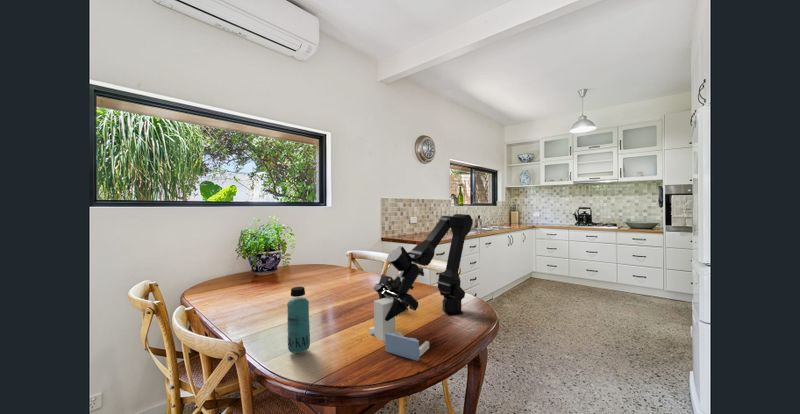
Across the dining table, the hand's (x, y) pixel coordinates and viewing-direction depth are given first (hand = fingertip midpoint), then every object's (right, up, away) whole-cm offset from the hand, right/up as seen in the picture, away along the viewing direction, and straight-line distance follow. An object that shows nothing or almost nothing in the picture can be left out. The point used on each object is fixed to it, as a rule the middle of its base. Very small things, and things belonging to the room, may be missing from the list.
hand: (381, 318), depth 107 cm
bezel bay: (+9, -7, -8) cm, 14 cm away
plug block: (+1, -7, +1) cm, 7 cm away
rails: (+1, -7, +1) cm, 7 cm away
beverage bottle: (-24, -8, -9) cm, 27 cm away
